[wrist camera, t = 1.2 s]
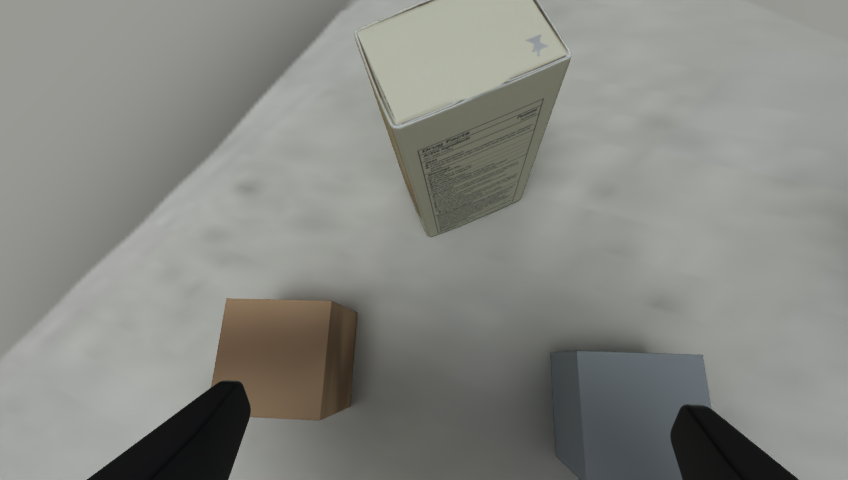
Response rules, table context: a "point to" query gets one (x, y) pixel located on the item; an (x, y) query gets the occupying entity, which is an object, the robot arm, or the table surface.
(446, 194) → the skincare box
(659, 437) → the slate cube
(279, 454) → the table surface
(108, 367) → the table surface
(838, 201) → the table surface
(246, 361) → the walnut cube
